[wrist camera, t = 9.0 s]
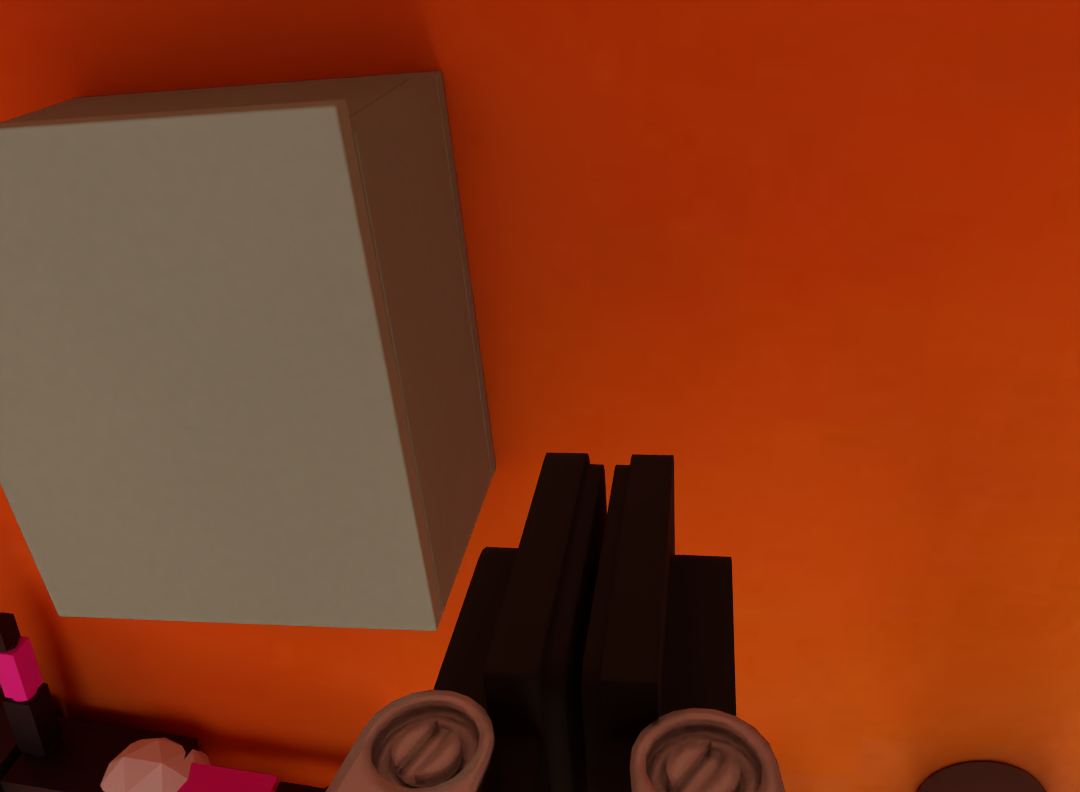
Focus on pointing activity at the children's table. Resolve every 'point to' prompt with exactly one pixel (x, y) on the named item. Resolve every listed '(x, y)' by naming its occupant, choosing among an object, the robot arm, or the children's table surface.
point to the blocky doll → (95, 744)
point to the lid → (204, 373)
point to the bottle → (981, 779)
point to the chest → (395, 273)
